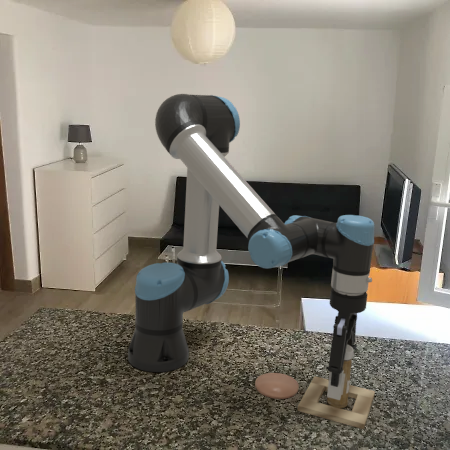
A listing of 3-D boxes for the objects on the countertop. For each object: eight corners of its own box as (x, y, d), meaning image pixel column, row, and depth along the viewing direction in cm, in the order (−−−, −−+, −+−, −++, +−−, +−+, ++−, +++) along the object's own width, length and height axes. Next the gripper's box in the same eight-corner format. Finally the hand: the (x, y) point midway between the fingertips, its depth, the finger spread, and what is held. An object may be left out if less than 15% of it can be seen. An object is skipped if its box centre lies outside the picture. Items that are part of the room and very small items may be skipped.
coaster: (248, 391, 118) (248, 388, 118) (263, 372, 127) (263, 369, 127) (291, 403, 114) (291, 400, 114) (303, 382, 123) (303, 379, 123)
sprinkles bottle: (352, 405, 115) (358, 349, 112) (337, 411, 112) (343, 354, 109) (336, 395, 118) (342, 340, 115) (322, 401, 116) (327, 345, 113)
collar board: (297, 410, 112) (297, 405, 112) (314, 380, 124) (314, 376, 124) (363, 429, 106) (364, 424, 106) (374, 396, 119) (374, 391, 119)
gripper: (357, 311, 98) (346, 417, 103) (375, 277, 118) (364, 368, 123) (318, 303, 101) (308, 407, 106) (342, 272, 121) (333, 361, 126)
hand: (338, 386), depth 114 cm, fingers open, 9 cm apart
